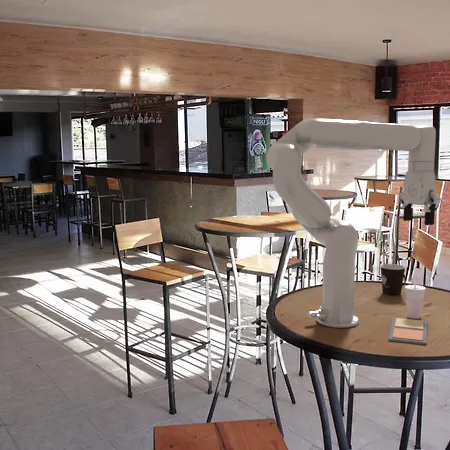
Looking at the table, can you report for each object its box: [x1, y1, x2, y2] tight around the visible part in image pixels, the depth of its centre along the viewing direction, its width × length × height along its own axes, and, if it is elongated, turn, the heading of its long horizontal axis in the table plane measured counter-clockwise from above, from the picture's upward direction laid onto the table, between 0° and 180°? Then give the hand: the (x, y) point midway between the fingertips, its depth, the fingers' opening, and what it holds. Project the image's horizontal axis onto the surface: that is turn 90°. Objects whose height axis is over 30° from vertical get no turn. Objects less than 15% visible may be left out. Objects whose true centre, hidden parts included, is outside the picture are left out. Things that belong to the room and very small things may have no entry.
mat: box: [388, 317, 428, 346], centre depth 169 cm, size 20×10×1 cm, turn 160°
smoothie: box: [404, 273, 427, 320], centre depth 182 cm, size 6×6×14 cm
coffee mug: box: [380, 263, 407, 297], centre depth 208 cm, size 12×9×10 cm
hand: (418, 222), depth 178 cm, fingers open, 9 cm apart
